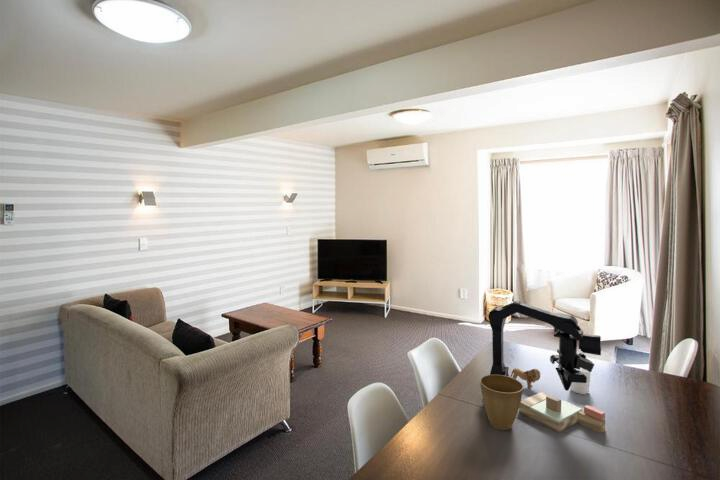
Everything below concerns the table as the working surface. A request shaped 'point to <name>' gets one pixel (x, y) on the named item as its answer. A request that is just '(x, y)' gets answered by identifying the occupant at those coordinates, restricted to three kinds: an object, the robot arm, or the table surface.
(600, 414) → the block
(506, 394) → the plant pot
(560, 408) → the lid
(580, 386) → the white cup
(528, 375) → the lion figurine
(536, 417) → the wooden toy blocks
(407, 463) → the table surface
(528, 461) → the table surface
